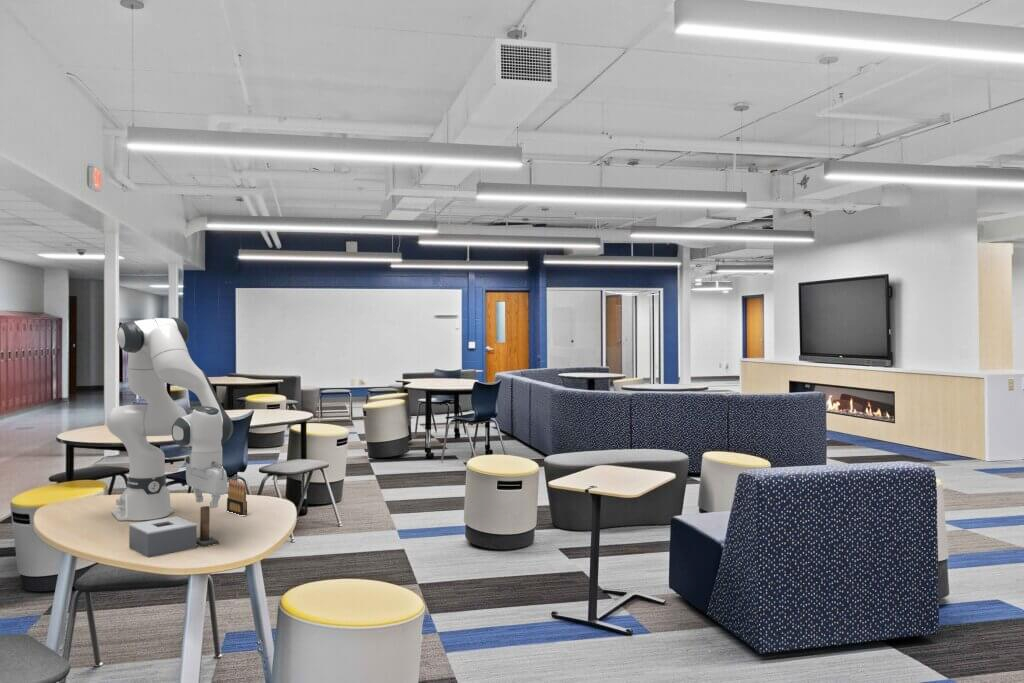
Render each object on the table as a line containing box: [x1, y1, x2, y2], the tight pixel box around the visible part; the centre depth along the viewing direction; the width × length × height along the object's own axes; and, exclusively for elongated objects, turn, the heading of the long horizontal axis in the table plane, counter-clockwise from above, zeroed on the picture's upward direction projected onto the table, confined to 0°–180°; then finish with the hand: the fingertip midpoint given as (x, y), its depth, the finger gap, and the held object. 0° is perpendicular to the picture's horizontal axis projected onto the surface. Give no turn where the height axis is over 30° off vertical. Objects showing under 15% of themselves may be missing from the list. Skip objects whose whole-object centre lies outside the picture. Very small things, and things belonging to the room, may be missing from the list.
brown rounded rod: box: [199, 505, 211, 541], centre depth 229 cm, size 3×3×10 cm
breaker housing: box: [128, 516, 198, 558], centre depth 224 cm, size 14×14×7 cm
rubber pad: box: [196, 536, 220, 548], centre depth 229 cm, size 8×5×1 cm, turn 47°
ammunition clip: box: [226, 478, 248, 516], centre depth 267 cm, size 11×2×12 cm, turn 50°
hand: (206, 504), depth 230 cm, fingers open, 8 cm apart
